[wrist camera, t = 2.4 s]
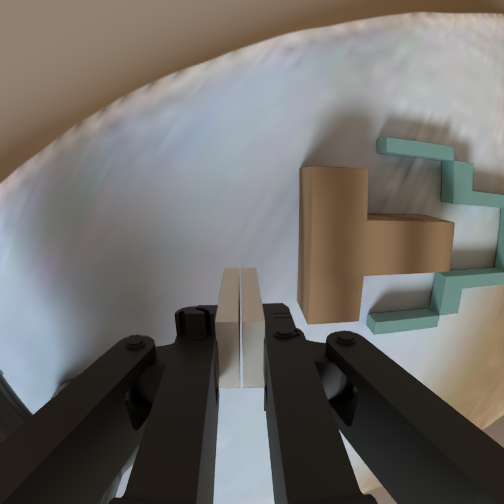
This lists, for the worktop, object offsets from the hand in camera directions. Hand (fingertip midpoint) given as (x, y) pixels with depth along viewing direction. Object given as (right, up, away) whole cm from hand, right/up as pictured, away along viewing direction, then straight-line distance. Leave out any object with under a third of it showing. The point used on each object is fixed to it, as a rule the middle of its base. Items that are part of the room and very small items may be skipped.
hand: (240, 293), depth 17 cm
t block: (+13, +4, +16) cm, 21 cm away
